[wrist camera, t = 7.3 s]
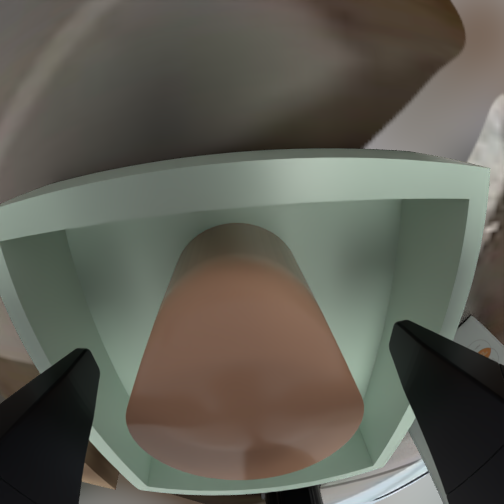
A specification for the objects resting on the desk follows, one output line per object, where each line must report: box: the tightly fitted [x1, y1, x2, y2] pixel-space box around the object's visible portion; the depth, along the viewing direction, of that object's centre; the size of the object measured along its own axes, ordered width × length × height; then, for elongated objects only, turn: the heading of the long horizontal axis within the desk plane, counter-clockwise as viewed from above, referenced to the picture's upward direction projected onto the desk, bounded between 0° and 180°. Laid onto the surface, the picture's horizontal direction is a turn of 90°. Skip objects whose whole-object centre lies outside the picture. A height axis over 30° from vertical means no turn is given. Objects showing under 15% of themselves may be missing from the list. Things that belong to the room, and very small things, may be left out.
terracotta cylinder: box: [126, 223, 364, 480], centre depth 8 cm, size 5×5×7 cm
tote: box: [0, 148, 490, 495], centre depth 12 cm, size 18×16×5 cm
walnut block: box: [82, 440, 119, 489], centre depth 14 cm, size 5×5×5 cm
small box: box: [408, 316, 504, 504], centre depth 11 cm, size 8×6×13 cm
